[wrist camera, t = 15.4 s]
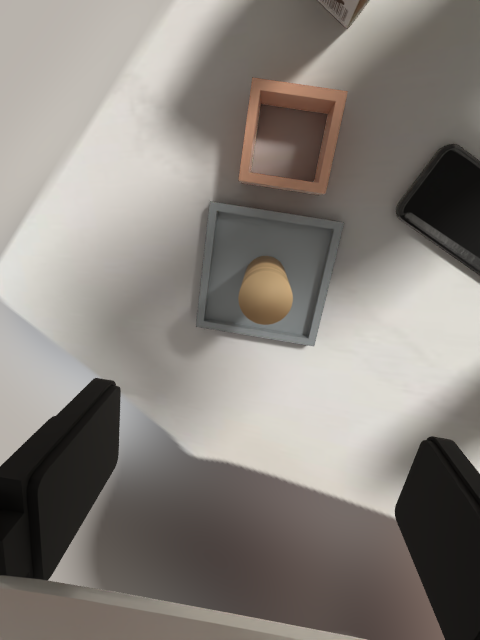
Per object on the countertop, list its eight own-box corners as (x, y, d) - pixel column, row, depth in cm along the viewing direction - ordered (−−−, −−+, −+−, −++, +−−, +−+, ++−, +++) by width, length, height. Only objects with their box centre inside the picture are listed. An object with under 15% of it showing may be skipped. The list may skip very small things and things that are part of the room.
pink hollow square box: (254, 93, 31) (252, 77, 28) (338, 105, 31) (347, 91, 27) (241, 183, 34) (238, 180, 30) (319, 195, 34) (325, 193, 30)
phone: (507, 293, 35) (394, 213, 33) (500, 290, 36) (390, 213, 34) (570, 226, 32) (451, 137, 31) (560, 226, 33) (445, 139, 32)
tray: (212, 201, 35) (209, 201, 33) (340, 221, 34) (344, 222, 33) (198, 322, 39) (195, 326, 38) (312, 341, 39) (314, 346, 38)
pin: (248, 252, 36) (242, 268, 26) (288, 259, 36) (297, 276, 26) (242, 292, 37) (234, 320, 28) (281, 298, 37) (287, 328, 28)
